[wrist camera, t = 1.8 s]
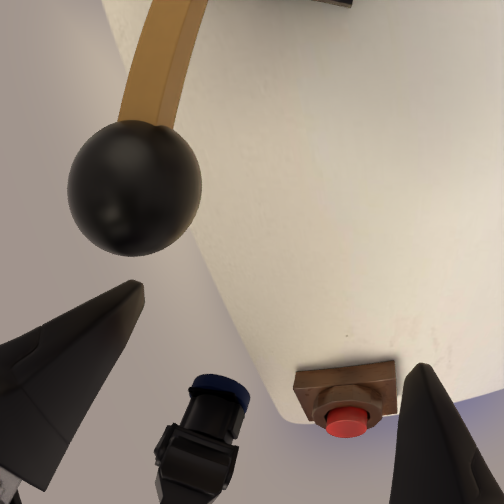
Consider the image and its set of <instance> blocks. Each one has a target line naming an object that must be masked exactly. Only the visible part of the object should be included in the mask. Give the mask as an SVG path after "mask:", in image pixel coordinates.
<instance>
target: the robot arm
mask: <svg viewBox="0 0 504 504" xmlns="http://www.w3.org/2000/svg"><path fill="white" fill-rule="evenodd" d="M144 303H145V297H144V285H143V283H141V282H138V281H135V280H128V281H127V282H125V283H123V284H121V285H119V286H117V287H115V288H113V289H111V290H109V291H107V292H105V293H103V294H101V295H99V296H97V297H95V298H93V299H91V300H89V301H87V302H85V303H83V304H81V305H79V306H77V307H76V308H74V309H72V310H70V311H68V312H66V313H64V314H62V315H60V316H58V317H57V318H54V319H52V320H51V321H49V322H47V323H45V324H43V325H42V326H39V327H37V328H35V329H33V330H32V331H30V332H28V333H26V334H24V335H22V336H20V337H17V338H15V339H13V340H11V341H8V342H6V343H4V344H1V345H0V504H22V503H21V500H20V497H19V493H18V489H17V488H18V486H19V484H20V483H21V481H22V480H23V481H25V482H27V483H28V484H30V485H32V486H34V487H36V488H38V489H40V490H41V491H43V492H45V491H46V489H47V487H48V485H49V483H50V481H51V479H52V477H53V475H54V473H55V471H56V469H57V467H58V466H59V464H60V462H61V460H62V458H63V456H64V454H65V452H66V450H67V448H68V446H69V444H70V442H71V441H72V438H73V437H74V435H75V433H76V431H77V429H78V428H79V426H80V424H81V422H82V420H83V419H84V417H85V415H86V413H87V411H88V410H89V408H90V406H91V404H92V403H93V401H94V399H95V397H96V396H97V394H98V392H99V390H100V389H101V387H102V385H103V383H104V382H105V380H106V378H107V377H108V375H109V373H110V371H111V370H112V368H113V366H114V365H115V363H116V361H117V360H118V358H119V356H120V355H121V353H122V351H123V350H124V348H125V346H126V344H127V342H128V340H129V338H130V335H131V333H132V331H133V329H134V327H135V325H136V323H137V320H138V318H139V316H140V314H141V312H142V310H143V307H144ZM188 392H189V393H190V395H191V397H192V398H191V400H190V402H189V405H188V407H187V409H186V411H185V414H184V416H183V418H182V421H181V423H180V425H177V424H176V423H173V424H172V425H171V426H170V425H167V427H166V429H165V431H164V433H163V435H162V437H161V439H160V441H159V442H158V444H157V446H156V448H155V449H154V454H155V456H156V458H155V459H156V462H155V465H157V466H159V468H158V472H157V477H156V481H155V486H156V489H157V493H158V497H159V501H160V504H212V503H213V502H214V500H215V499H216V498H217V497H218V496H219V494H220V493H221V491H222V490H226V488H227V486H228V485H229V483H230V480H231V478H232V475H233V471H234V467H235V463H236V458H237V454H238V450H239V446H236V445H235V446H233V445H231V444H232V441H233V439H237V438H238V435H239V431H240V428H241V425H242V422H243V419H244V418H245V414H244V411H243V409H242V407H241V405H240V404H239V401H238V399H237V397H236V394H235V393H233V392H228V391H219V390H210V389H203V388H195V387H189V388H188ZM389 504H504V493H503V492H502V490H501V489H500V487H499V485H498V483H497V482H496V480H495V478H494V477H493V475H492V473H491V472H490V470H489V468H488V466H487V464H486V463H485V461H484V459H483V457H482V456H481V453H480V451H479V449H478V448H477V447H476V444H475V442H474V440H473V438H472V436H471V435H470V432H469V431H468V429H467V427H466V425H465V423H464V422H463V420H462V418H461V416H460V414H459V412H458V411H457V409H456V407H455V406H454V404H453V402H452V400H451V398H450V397H449V395H448V393H447V392H446V390H445V388H444V387H443V385H442V383H441V382H440V380H439V378H438V377H437V375H436V373H435V372H434V370H433V368H432V367H431V366H430V365H429V364H425V363H418V364H417V365H416V366H415V367H414V368H413V370H412V371H411V372H410V373H409V374H408V375H407V376H406V378H405V381H404V386H403V394H402V401H401V407H400V413H399V421H398V430H397V443H396V455H395V463H394V472H393V480H392V487H391V494H390V501H389Z"/></svg>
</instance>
